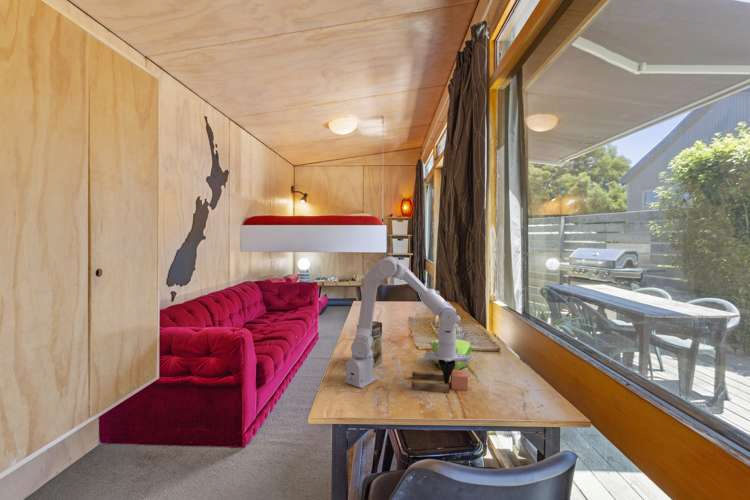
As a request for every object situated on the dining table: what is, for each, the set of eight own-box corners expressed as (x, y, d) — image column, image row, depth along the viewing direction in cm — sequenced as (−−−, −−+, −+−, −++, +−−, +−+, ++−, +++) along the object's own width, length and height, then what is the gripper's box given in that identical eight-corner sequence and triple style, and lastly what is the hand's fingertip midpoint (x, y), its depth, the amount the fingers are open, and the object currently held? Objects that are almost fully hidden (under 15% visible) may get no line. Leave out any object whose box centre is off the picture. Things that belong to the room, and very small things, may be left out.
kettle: (476, 374, 121) (477, 343, 120) (437, 375, 120) (438, 344, 119) (462, 358, 136) (463, 331, 135) (428, 359, 135) (428, 332, 134)
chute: (411, 390, 108) (411, 384, 108) (412, 376, 118) (412, 371, 118) (449, 392, 106) (449, 386, 106) (446, 379, 116) (446, 373, 116)
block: (451, 389, 109) (451, 375, 109) (450, 382, 114) (450, 369, 114) (467, 390, 108) (467, 376, 108) (465, 383, 113) (465, 370, 113)
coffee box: (370, 370, 123) (370, 327, 122) (355, 367, 127) (355, 325, 126) (382, 362, 131) (383, 322, 130) (368, 359, 134) (369, 319, 133)
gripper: (425, 344, 108) (424, 385, 109) (471, 347, 106) (470, 389, 106) (424, 338, 115) (424, 376, 115) (468, 340, 113) (467, 379, 113)
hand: (446, 382), depth 111 cm, fingers closed
